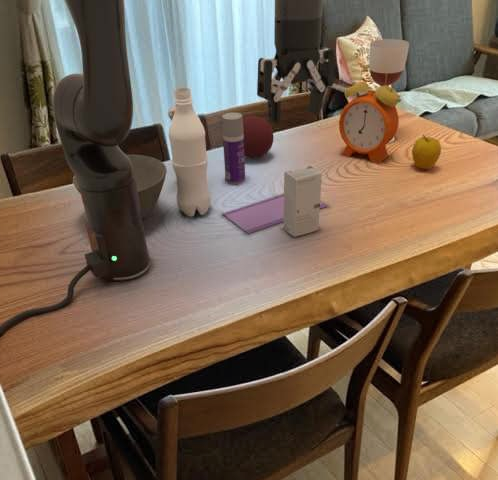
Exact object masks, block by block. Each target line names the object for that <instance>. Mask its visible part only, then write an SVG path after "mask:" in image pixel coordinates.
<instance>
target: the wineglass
mask: <svg viewBox="0 0 498 480" xmlns="http://www.w3.org/2000/svg"><path fill="white" fill-rule="evenodd" d="M409 49H410V43H409V41H407V40H403V39H398V38H382V39H381V38H380V39H376V40H372V41H371V42H370V43H369V55H368V56H369V57H368V68H369V69H368V70H369V74H370V78H371V79H372V81H373V82H374V83H375V84H377V85H378V86H379V87H381V86H384V85H385V82H386V86H389V87H390V86H391V85H393V84H394V83H396V82H397V81H399V79H400V78H401V76H402V74H403V72H404V70H405V67H406V63H407V59H408V55H409ZM370 70H373V71H370ZM376 71H380V72H376ZM383 72H386V73H387V77H386V73H383ZM395 138H396V137H395V136H394V137H393V139H392V140H391V141H390V142H389V143H392V142H394V140H395Z"/></svg>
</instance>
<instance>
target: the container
mask: <svg viewBox="0 0 498 480" xmlns="http://www.w3.org/2000/svg"><path fill="white" fill-rule="evenodd" d="M243 119H244V118H243V114H242V113H240V112H226V113H223V114H222V116H221V120H222V121H221V123H222V145H223V160H224V161H223V163H224V175H225V178H224V179H225V182H226V184H229V185H241V184H243V183H245V181H246V164H245V163H246V159H245V158H246V157H245V156H244V134H243Z"/></svg>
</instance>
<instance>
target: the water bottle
mask: <svg viewBox="0 0 498 480" xmlns="http://www.w3.org/2000/svg"><path fill="white" fill-rule="evenodd" d="M173 90H174V91H173V92H174V101H173V105H174V106H176V109H175V114H174V116H173V119H172V120H171V122H170V124H169V125H170V126H169V129H168V138H170V139H169V145H170V152H171V163H172V164H171V165H172V168H173V170H174V174H175V176H176V183H177V190H176V202H177V203H176V204H177V206H178V208H179V210H180V211H181V212H182V213H183V214H184V215H186V216H187V217H194V216H195V214H196V211H197V212H198V214H199V215H200V216H204V215H205V214H207V212H208V211H209V208H210V204H211V201H212V195H211V192H210V188H209V187H208V186H209V185H208V176H207V171H208V164H209V161H208V154H207V144H206V131H205V127H204V125H203V123H202V121H201V118H200V117H199V118H200V119H199V118H198V116H199V115H198V114H197V113H196V111H195V109H194V107H193V103H194V100H193V97H192V94H191V91H192V90H191V88H190V87H184V86H183V87H177V88H175V89H173ZM196 114H197V115H198V116H197V115H196ZM206 154H207V155H206Z"/></svg>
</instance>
